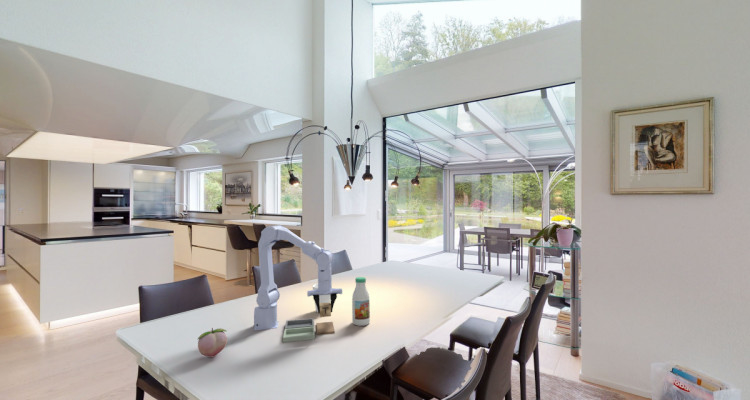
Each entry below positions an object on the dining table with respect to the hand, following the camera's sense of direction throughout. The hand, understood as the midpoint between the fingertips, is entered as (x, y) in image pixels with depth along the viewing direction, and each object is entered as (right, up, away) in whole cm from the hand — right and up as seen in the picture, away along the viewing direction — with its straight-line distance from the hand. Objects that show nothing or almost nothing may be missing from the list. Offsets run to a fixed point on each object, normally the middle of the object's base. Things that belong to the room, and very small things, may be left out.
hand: (325, 312), depth 134 cm
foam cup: (-5, -8, +23) cm, 25 cm away
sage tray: (-9, -7, -7) cm, 14 cm away
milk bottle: (+15, -8, +7) cm, 18 cm away
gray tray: (-11, -8, +3) cm, 14 cm away
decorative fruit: (-36, -8, -23) cm, 43 cm away
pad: (0, -7, 0) cm, 7 cm away
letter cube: (0, -1, 0) cm, 1 cm away
